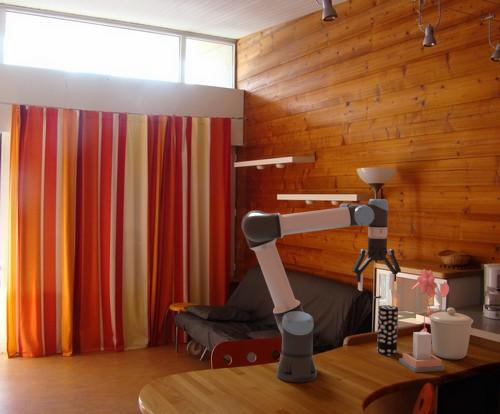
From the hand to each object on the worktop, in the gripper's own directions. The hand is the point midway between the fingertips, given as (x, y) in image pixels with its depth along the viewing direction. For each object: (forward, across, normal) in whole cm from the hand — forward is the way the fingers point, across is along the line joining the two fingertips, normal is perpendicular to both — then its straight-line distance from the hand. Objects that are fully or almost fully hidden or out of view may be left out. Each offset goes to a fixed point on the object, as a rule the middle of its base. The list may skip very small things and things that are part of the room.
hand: (375, 290), depth 230 cm
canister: (+31, +38, +6) cm, 49 cm away
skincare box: (+29, +19, -4) cm, 35 cm away
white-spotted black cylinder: (+31, +13, +15) cm, 37 cm away
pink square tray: (+31, +19, -4) cm, 36 cm away
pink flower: (+31, +36, +24) cm, 53 cm away
